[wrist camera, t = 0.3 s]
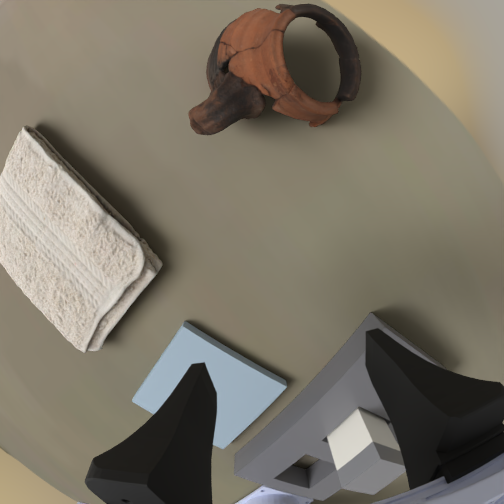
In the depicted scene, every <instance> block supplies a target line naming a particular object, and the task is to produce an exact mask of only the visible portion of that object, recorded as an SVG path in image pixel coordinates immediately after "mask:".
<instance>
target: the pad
mask: <svg viewBox="0 0 504 504" xmlns="http://www.w3.org/2000/svg"><path fill="white" fill-rule="evenodd" d="M203 362H205V364H206V367H207V370H208V372H209V375H210V377H211V380H212V382H213V385H214V387H215V389H216V392H217V417H216V425H215V432H214V440H213V445H215V446H217V447H219V448H222V449H224V448H225V447H226V446H227V445H228V444H229V443H231V442H232V441H233V440H234V439H235V438H236V437H237V436H238V435H239V434H240V433H241V432H242V431H244V430H245V429H246V428H247V427H248V426H249V425H250V424H251V423H252V422H253V421H254V420H255V419H256V418H257V417H258V416H259V415H260V414H261V413H262V412H263V411H264V410H265V409H266V408H267V407H268V406H269V405H270V404H271V403H272V402H273V401H274V400H275V399H276V398H277V397H278V396H279V395H280V394H281V393H282V392H283V391H284V390H285V389H286V388H287V383H286V380H284V379H283V378H281V377H279V376H277V375H275V374H273V373H272V372H270V371H268V370H266V369H264V368H262V367H261V366H259V365H257V364H255V363H254V362H252V361H250V360H248V359H247V358H245V357H243V356H242V355H240V354H238V353H236V352H235V351H233V350H231V349H230V348H228V347H226V346H225V345H223V344H221V343H220V342H218V341H216V340H215V339H213V338H212V337H210V336H208V335H207V334H205V333H203V332H202V331H200V330H199V329H197V328H196V327H194V326H192V325H191V324H189V323H188V322H186V321H185V322H184V323H183V324H182V326H181V327H180V329H179V330H178V332H177V333H176V335H175V336H174V338H173V339H172V341H171V342H170V344H169V345H168V346H167V348H166V349H165V351H164V352H163V354H162V355H161V357H160V358H159V360H158V361H157V363H156V364H155V366H154V367H153V369H152V370H151V372H150V373H149V375H148V376H147V378H146V379H145V381H144V382H143V384H142V385H141V386H140V388H139V389H138V391H137V392H136V394H135V396H134V398H133V400H132V402H134V403H136V404H137V405H139V406H140V407H142V408H144V409H146V410H147V411H149V412H151V413H152V414H155V413H156V412H157V411H158V409H159V408H160V407H161V406H162V405H163V403H164V402H165V401H166V400H167V398H168V397H169V396H170V394H171V393H172V392H173V390H174V389H175V387H176V386H177V385H178V383H179V382H180V380H181V379H182V377H183V376H184V374H185V373H186V371H187V370H188V368H189V367H190V366H191V364H194V363H203Z"/></svg>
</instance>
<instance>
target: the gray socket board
mask: <svg viewBox="0 0 504 504" xmlns="http://www.w3.org/2000/svg"><path fill="white" fill-rule="evenodd" d="M376 328H379V329H380V330H382V331H383V332H384V333H386V334H387V335H389V336H390V337H391V338H393V339H394V340H395V341H397V342H398V343H400V344H401V345H402V346H404V347H405V348H407V349H408V350H410V351H411V352H413V353H414V354H416V355H418V356H420V357H421V358H423V359H425V360H427V361H428V362H430V363H432V364H435V365H437V366H439V367H441V368H443V369H446V368H445V367H444V366H443V365H441V364H440V363H439V362H437V361H436V360H435V359H433V358H432V357H431V356H430V355H428V354H427V353H426V352H424V351H423V350H421V349H420V348H419V347H417V346H416V345H415V344H413V343H412V342H411V341H409V340H408V339H407V338H405V337H404V336H403V335H401V334H400V333H399V332H397V331H396V330H395V329H393V328H392V327H390V326H389V325H388V324H386V323H385V322H384V321H382V320H381V319H380V318H378V317H377V316H375V315H374V314H373V313H370V314H369V315H368V316H367V318H366V319H365V320H364V321H363V323H362V324H361V325H360V326H359V328H358V329H357V330H356V331H355V332H354V334H353V335H352V336H351V337H350V338H349V340H348V341H347V342H346V343H345V344H344V346H343V347H342V348H341V349H340V350H339V351H338V352H337V354H336V355H335V356H334V357H333V358H332V359H331V360H330V362H329V363H328V364H327V365H326V366H325V367H324V368H323V369H322V370H321V372H320V373H319V374H318V375H317V376H316V377H315V378H314V379H313V380H312V381H311V382H310V383H309V384H308V385H307V386H306V388H305V389H304V390H303V391H302V392H301V393H300V394H299V395H298V396H297V397H296V398H295V399H294V400H293V401H292V402H291V403H290V404H289V405H288V406H287V407H286V408H285V409H284V410H283V411H282V412H281V413H280V414H279V415H278V416H277V417H276V418H275V419H273V420H272V421H271V422H270V423H269V424H268V425H267V426H266V427H265V428H264V429H263V430H262V431H261V432H260V433H258V434H257V435H256V436H255V437H254V438H253V439H252V440H251V441H250V442H248V443H247V444H246V445H245V446H244V447H243V448H242V449H240V450H239V451H238V452H237V453H236V454H235V465H234V475H236V476H238V477H241V478H244V479H247V480H250V481H253V482H256V483H259V484H262V485H265V486H268V487H271V488H275V489H278V490H281V491H285V492H289V493H292V494H296V495H300V496H304V497H308V498H312V499H317V500H321V501H324V500H325V499H327V498H328V497H330V496H331V495H333V494H334V493H336V492H337V491H339V490H340V489H342V487H341V483H340V480H339V476H338V473H337V469H336V466H335V463H334V459H333V456H332V452H331V449H330V445H329V442H328V439H327V436H328V435H329V434H330V433H331V432H332V431H333V430H334V429H335V428H336V427H338V426H339V425H340V424H341V423H342V422H343V421H344V420H345V419H346V418H347V417H348V416H349V415H350V414H351V413H352V412H353V411H355V410H356V409H357V408H358V407H359V406H360V407H362V408H364V409H366V410H368V411H370V412H372V413H374V414H377V415H379V416H381V417H383V418H384V419H385V421H386V423H387V425H388V427H389V429H390V431H391V432H392V434H393V436H394V438H395V440H396V442H397V444H398V441H397V438H396V435H395V432H394V429H393V426H392V424H391V421H390V419H389V417H388V415H387V413H386V411H385V409H384V407H383V405H382V403H381V401H380V399H379V397H378V395H377V393H376V391H375V389H374V387H373V385H372V383H371V380H370V377H369V374H368V371H367V368H366V365H365V353H366V331H369V330H372V329H376ZM446 370H447V369H446ZM305 454H307V455H309V456H312V457H315V458H318V459H319V460H318V461H316V462H315V463H314V464H313V465H311V466H310V467H309V468H307V469H306V470H305V469H302V468H299V467H296V466H293V465H292V464H294V463H295V462H296V461H297V460H299V459H300V458H301V457H303V456H304V455H305Z"/></svg>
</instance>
